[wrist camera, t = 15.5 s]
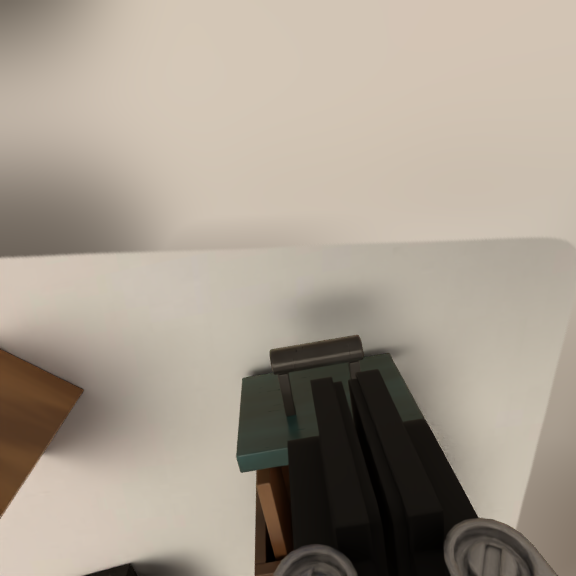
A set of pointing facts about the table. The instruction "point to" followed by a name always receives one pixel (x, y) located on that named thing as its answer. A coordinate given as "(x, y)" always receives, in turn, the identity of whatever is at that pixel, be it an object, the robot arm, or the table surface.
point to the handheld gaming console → (117, 571)
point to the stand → (28, 419)
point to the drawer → (299, 417)
